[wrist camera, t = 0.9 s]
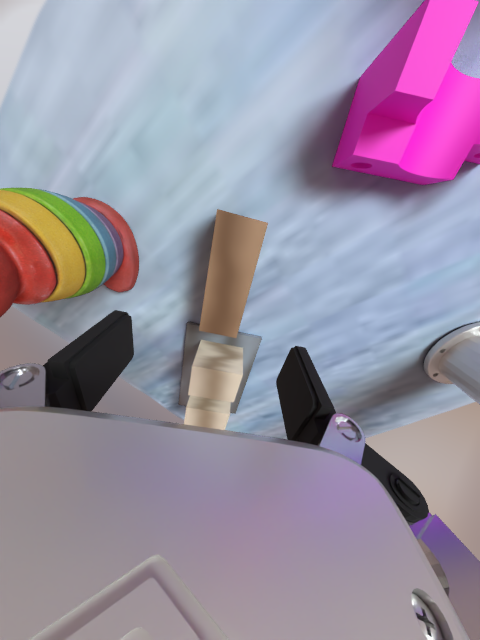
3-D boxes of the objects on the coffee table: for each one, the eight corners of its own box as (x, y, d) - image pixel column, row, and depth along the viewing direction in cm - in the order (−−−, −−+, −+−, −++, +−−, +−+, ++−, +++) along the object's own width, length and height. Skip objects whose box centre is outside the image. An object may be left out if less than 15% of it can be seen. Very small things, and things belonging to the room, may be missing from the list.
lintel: (263, 221, 22) (268, 223, 18) (237, 319, 29) (236, 338, 25) (222, 210, 22) (217, 209, 17) (205, 313, 28) (198, 330, 24)
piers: (261, 336, 30) (265, 365, 24) (235, 411, 40) (233, 443, 34) (187, 321, 29) (174, 347, 23) (179, 402, 39) (168, 434, 33)
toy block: (331, 167, 20) (375, 142, 13) (358, 78, 17) (434, -11, 10) (460, 193, 21) (561, 182, 14) (508, 114, 17) (667, 53, 11)
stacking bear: (50, 254, 24) (-290, 323, 9) (57, 171, 20) (-583, 20, 4) (131, 295, 27) (-19, 402, 11) (154, 229, 23) (-40, 260, 7)
